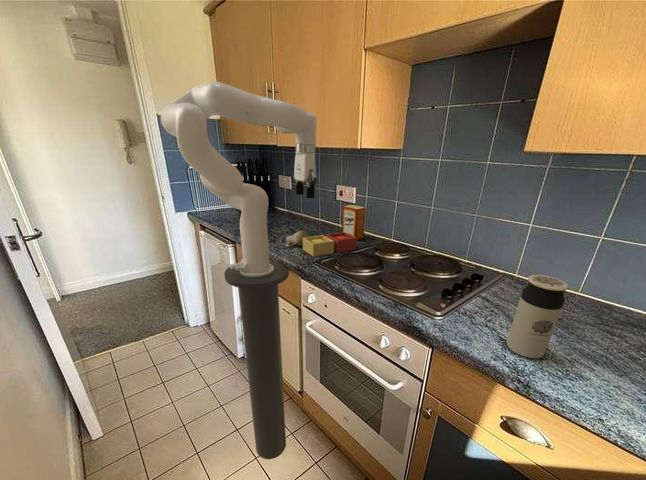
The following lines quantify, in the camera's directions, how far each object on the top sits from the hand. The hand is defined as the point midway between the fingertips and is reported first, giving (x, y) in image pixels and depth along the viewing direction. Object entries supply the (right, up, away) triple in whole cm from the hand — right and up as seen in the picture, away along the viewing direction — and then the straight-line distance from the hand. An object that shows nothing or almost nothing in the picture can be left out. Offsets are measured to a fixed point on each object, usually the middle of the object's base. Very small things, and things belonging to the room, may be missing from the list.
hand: (304, 196), depth 120 cm
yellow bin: (+5, -21, +14) cm, 25 cm away
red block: (+15, -18, +19) cm, 30 cm away
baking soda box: (+21, -12, +35) cm, 43 cm away
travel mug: (+58, -49, -47) cm, 89 cm away
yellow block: (+4, -20, +14) cm, 25 cm away
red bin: (+15, -19, +20) cm, 31 cm away
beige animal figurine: (-6, -18, +21) cm, 28 cm away
